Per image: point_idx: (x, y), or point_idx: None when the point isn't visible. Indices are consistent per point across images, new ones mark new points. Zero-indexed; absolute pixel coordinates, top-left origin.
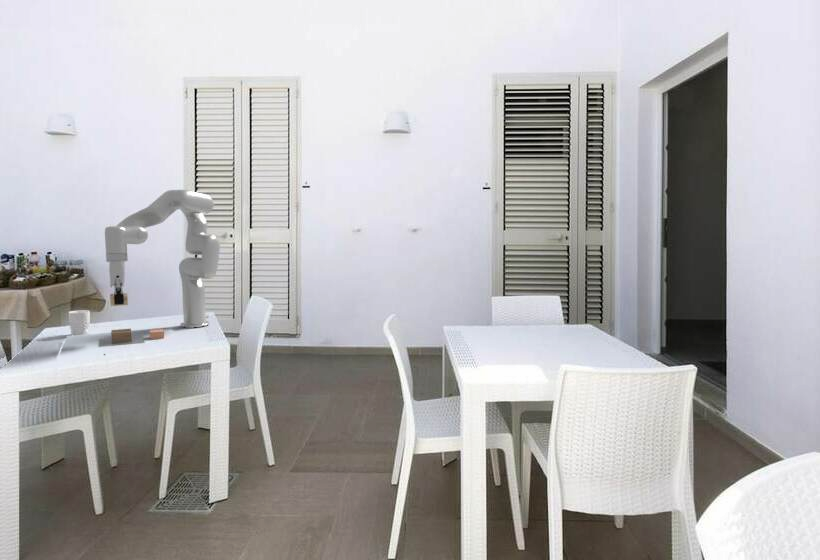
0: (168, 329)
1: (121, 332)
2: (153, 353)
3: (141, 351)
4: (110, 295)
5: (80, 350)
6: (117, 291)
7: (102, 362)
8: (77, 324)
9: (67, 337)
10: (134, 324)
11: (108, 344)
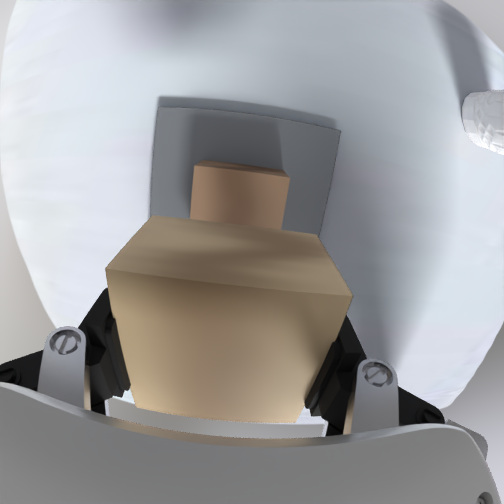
0: (370, 354)
1: (190, 212)
2: (44, 265)
3: (71, 241)
4: (152, 279)
5: (188, 47)
6: (30, 371)
7: (4, 137)
8: (490, 103)
9: (458, 71)
10: (491, 283)
11: (186, 145)
